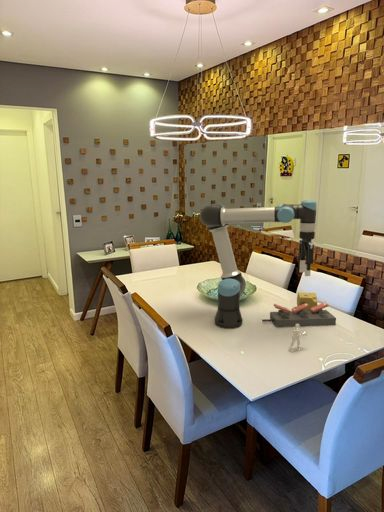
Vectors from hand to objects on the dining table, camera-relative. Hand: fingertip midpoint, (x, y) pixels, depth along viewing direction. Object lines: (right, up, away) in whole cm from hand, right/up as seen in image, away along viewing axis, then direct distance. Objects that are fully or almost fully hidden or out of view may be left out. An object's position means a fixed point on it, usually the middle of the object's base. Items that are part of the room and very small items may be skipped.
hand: (304, 273), depth 186 cm
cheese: (+8, -23, +22) cm, 33 cm away
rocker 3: (+11, -19, +8) cm, 23 cm away
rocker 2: (0, -19, +7) cm, 21 cm away
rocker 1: (-10, -20, +6) cm, 23 cm away
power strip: (-3, -26, +6) cm, 27 cm away
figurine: (-11, -33, -24) cm, 43 cm away
